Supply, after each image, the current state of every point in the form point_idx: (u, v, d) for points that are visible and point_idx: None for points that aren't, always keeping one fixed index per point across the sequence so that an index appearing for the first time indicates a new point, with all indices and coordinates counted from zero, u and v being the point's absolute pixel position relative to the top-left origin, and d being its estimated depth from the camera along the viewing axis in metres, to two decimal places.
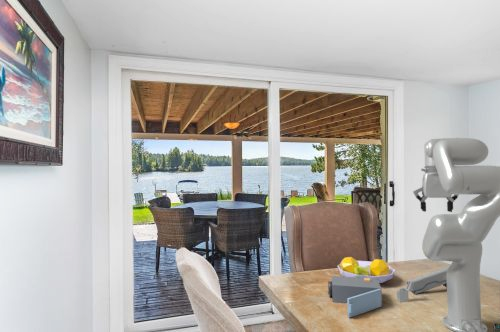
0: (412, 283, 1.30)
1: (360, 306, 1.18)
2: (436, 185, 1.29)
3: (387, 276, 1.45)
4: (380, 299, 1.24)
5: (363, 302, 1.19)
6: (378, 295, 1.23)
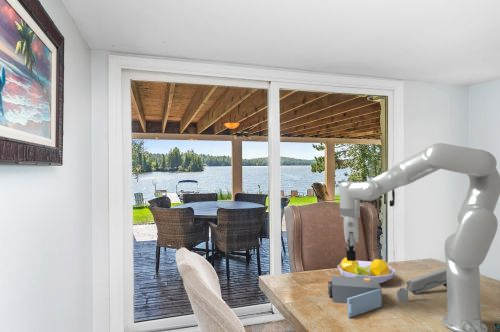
0: (412, 283, 1.30)
1: (360, 306, 1.18)
2: None
3: (387, 276, 1.45)
4: (380, 299, 1.24)
5: (363, 302, 1.19)
6: (378, 295, 1.23)
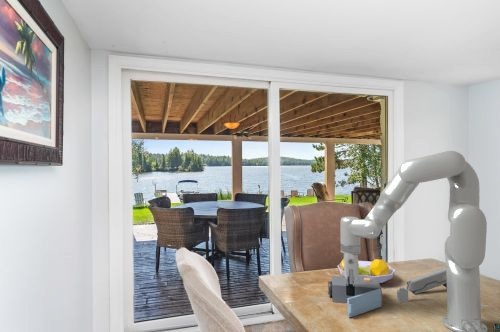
0: (412, 283, 1.30)
1: (360, 306, 1.18)
2: None
3: (387, 276, 1.45)
4: (380, 299, 1.24)
5: (363, 302, 1.19)
6: (378, 295, 1.23)
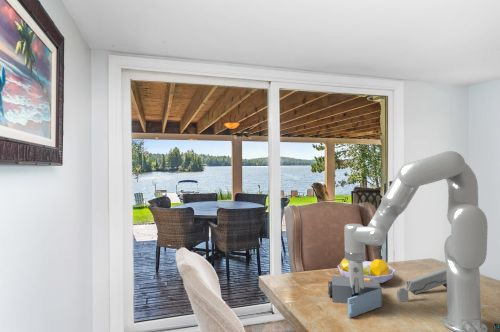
0: (412, 283, 1.30)
1: (360, 306, 1.18)
2: None
3: (387, 276, 1.45)
4: (380, 299, 1.24)
5: (363, 302, 1.18)
6: (378, 295, 1.23)
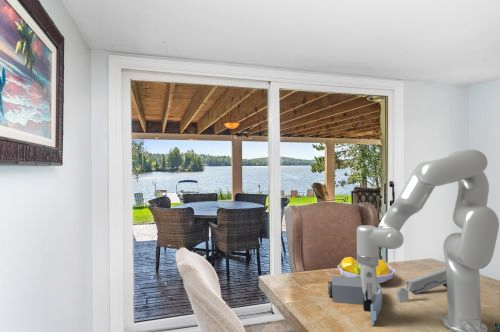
0: (412, 283, 1.30)
1: (376, 311, 1.14)
2: None
3: (387, 276, 1.45)
4: (381, 299, 1.23)
5: (377, 306, 1.15)
6: (380, 296, 1.22)
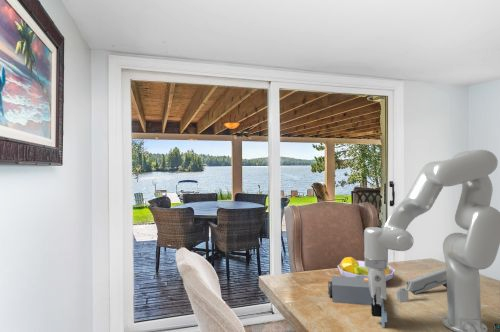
0: (412, 283, 1.30)
1: None
2: None
3: (387, 276, 1.45)
4: None
5: None
6: None
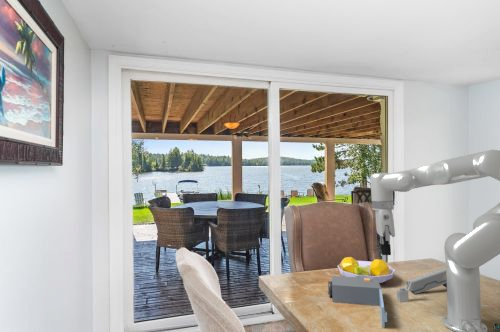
0: (412, 283, 1.30)
1: None
2: None
3: (387, 276, 1.45)
4: None
5: None
6: None
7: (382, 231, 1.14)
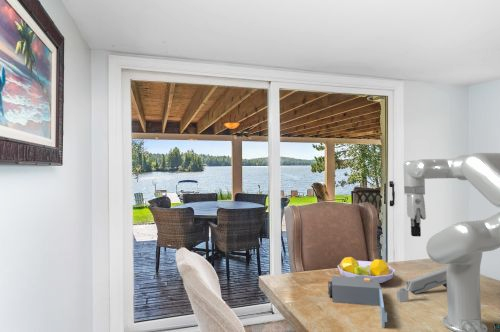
0: (412, 283, 1.30)
1: None
2: None
3: (387, 276, 1.45)
4: None
5: None
6: None
7: (414, 214, 1.24)
